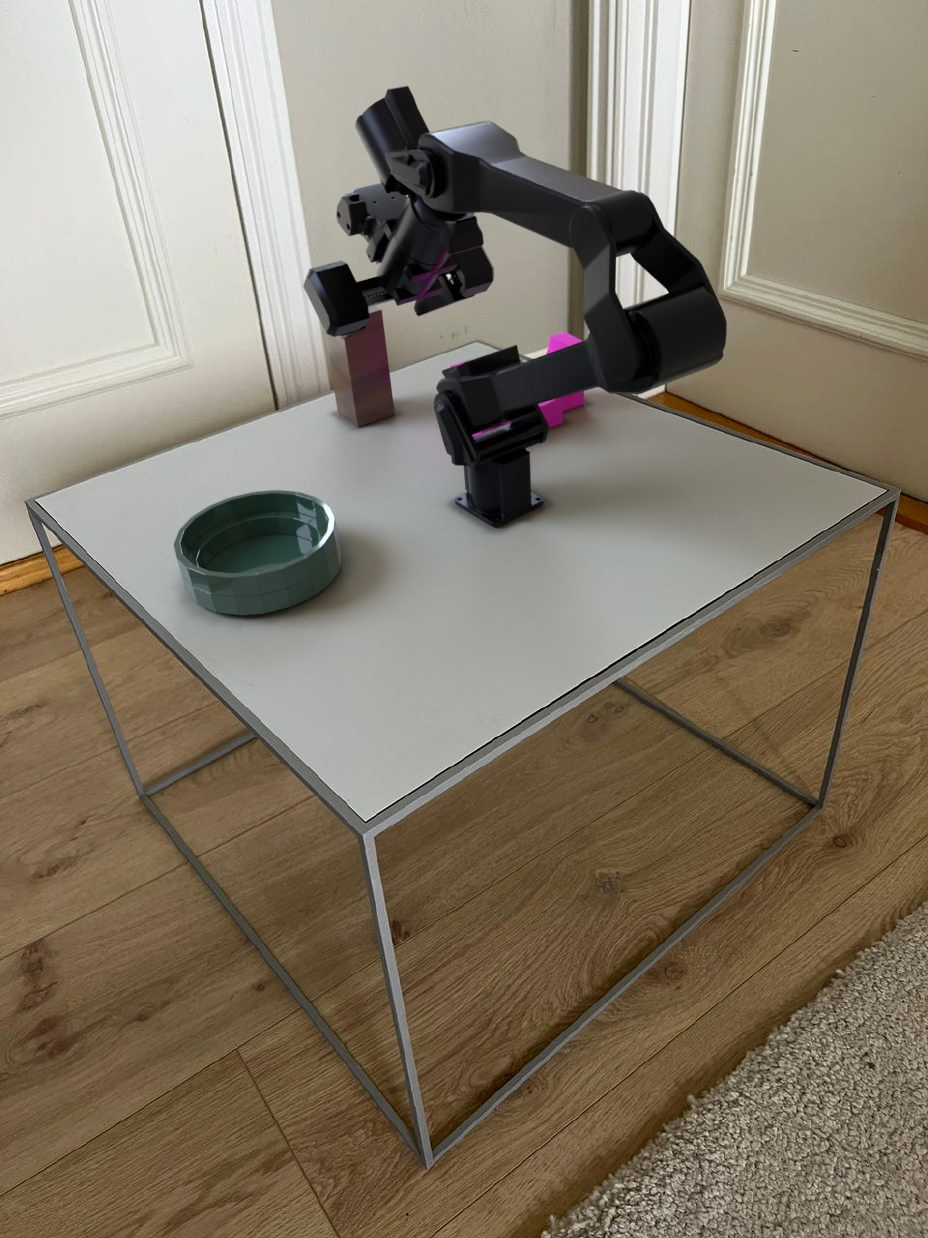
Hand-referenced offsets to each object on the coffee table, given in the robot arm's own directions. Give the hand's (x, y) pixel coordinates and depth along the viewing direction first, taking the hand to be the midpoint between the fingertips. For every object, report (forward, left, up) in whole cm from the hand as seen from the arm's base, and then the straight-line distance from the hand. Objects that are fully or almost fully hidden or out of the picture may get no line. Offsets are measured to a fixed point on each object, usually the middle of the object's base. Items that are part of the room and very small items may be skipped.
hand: (379, 323), depth 99 cm
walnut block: (+6, 0, -13) cm, 14 cm away
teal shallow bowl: (-15, +25, -13) cm, 31 cm away
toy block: (-9, -12, -13) cm, 20 cm away
